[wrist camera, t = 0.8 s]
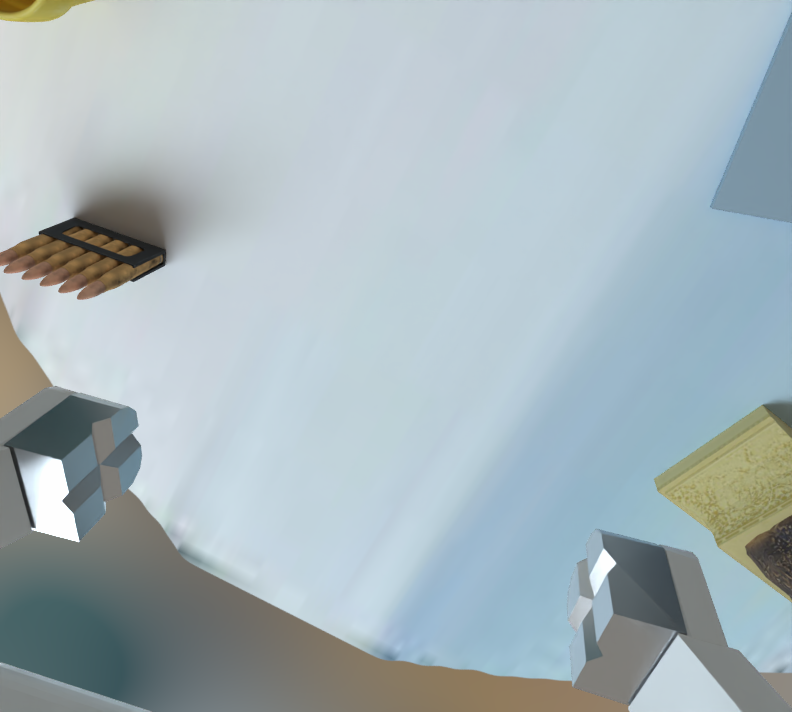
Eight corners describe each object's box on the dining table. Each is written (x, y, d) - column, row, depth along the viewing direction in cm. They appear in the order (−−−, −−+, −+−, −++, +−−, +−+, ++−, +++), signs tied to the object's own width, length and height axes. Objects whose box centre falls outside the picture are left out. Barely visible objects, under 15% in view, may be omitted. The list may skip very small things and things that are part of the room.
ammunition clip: (73, 233, 59) (-23, 271, 49) (73, 217, 58) (-25, 252, 48) (165, 266, 59) (87, 311, 48) (166, 250, 58) (87, 292, 48)
